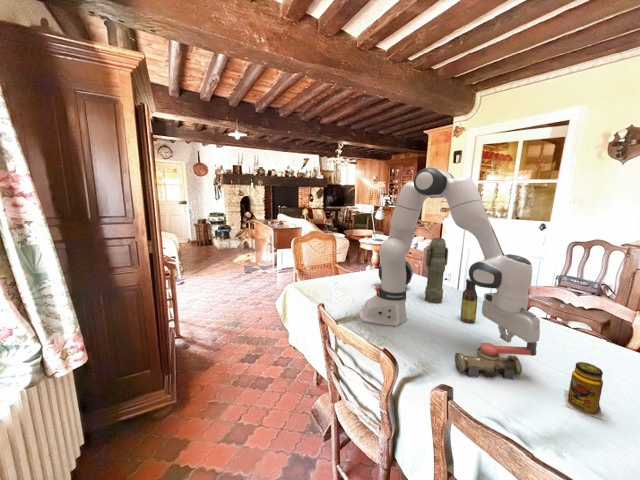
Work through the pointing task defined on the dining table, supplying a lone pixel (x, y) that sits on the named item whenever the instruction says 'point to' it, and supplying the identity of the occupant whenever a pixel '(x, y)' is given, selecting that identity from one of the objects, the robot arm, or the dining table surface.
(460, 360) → the valve body
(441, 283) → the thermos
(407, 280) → the ring
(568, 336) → the dining table surface
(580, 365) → the condiment
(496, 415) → the dining table surface
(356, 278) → the dining table surface
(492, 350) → the lever
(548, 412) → the dining table surface
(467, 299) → the sauce bottle
